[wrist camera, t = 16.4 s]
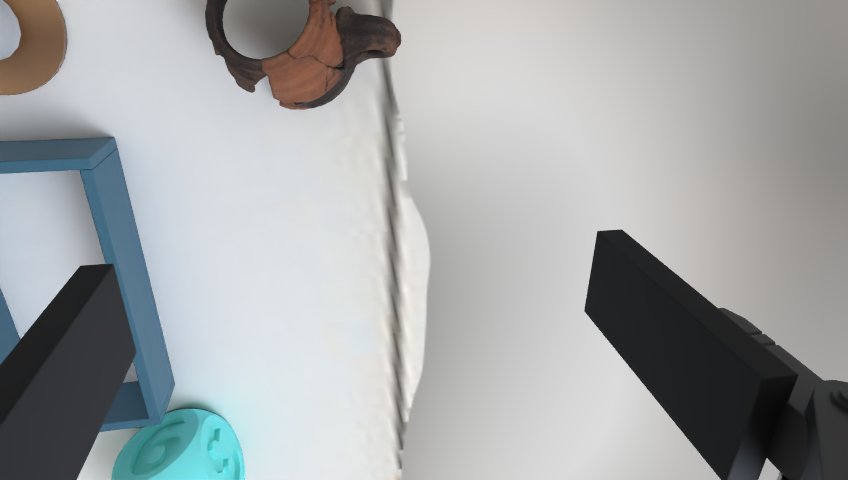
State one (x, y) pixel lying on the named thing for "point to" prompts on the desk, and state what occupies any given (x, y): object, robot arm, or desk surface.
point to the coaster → (34, 46)
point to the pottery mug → (309, 53)
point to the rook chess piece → (8, 31)
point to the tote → (120, 248)
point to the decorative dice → (182, 450)
